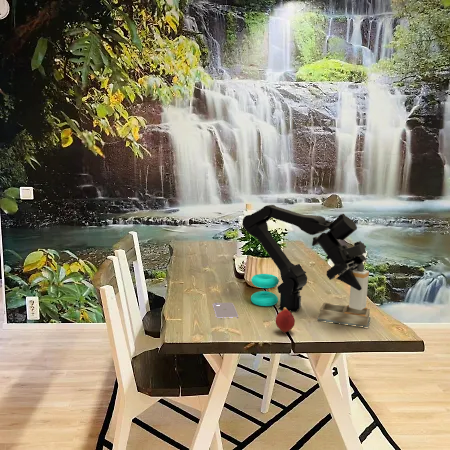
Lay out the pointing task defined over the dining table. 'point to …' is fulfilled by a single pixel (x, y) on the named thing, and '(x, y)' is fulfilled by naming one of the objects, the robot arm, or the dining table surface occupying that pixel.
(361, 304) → the bottle
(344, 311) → the rack
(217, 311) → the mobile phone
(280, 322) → the onion
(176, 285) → the dining table surface
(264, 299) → the donuts
